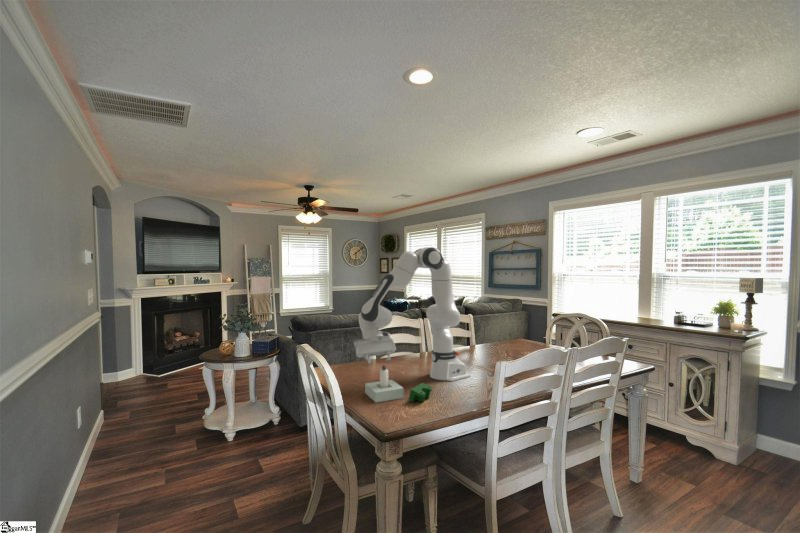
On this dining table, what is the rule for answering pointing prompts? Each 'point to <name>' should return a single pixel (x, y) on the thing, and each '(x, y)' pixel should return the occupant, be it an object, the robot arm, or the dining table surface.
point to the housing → (384, 391)
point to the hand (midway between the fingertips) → (380, 362)
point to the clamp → (420, 392)
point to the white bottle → (383, 377)
